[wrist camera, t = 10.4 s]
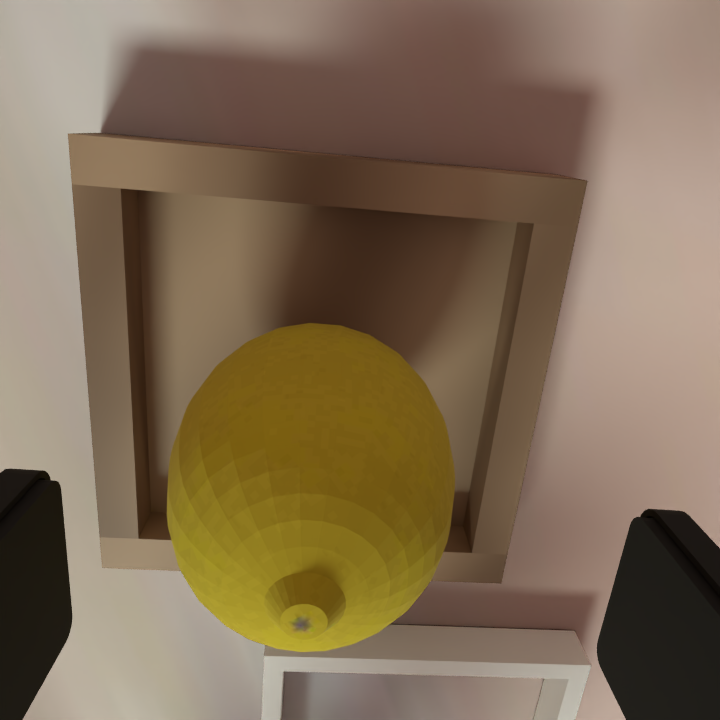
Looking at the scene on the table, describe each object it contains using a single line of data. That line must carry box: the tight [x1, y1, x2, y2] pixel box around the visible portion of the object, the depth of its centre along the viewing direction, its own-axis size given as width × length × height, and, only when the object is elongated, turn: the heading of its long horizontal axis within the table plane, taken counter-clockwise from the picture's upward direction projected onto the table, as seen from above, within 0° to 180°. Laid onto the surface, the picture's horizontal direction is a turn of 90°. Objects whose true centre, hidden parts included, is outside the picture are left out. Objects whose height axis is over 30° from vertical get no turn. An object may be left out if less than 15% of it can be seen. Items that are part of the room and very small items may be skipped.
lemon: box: [167, 323, 455, 652], centre depth 12 cm, size 6×6×8 cm
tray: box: [68, 133, 587, 583], centre depth 16 cm, size 11×11×2 cm
